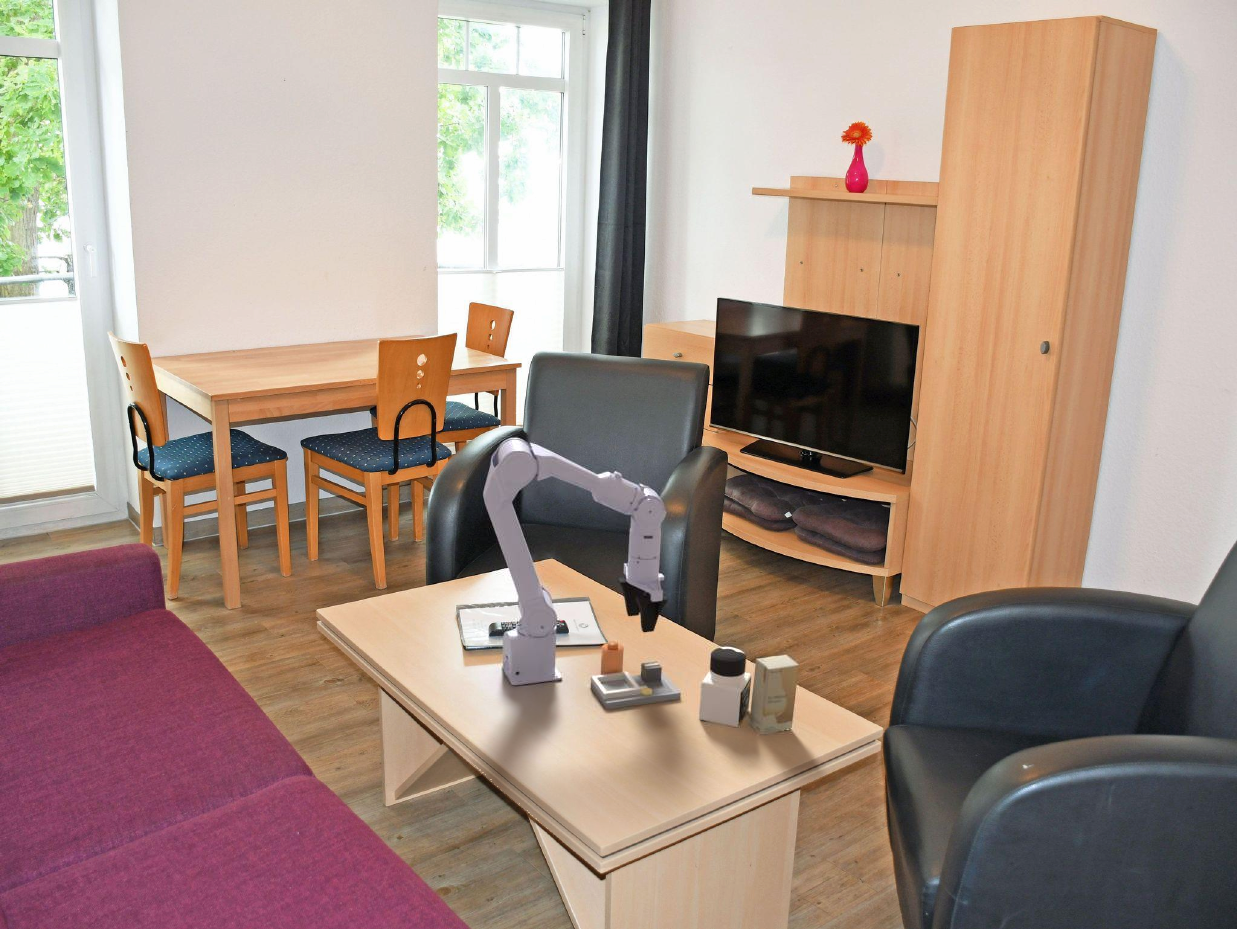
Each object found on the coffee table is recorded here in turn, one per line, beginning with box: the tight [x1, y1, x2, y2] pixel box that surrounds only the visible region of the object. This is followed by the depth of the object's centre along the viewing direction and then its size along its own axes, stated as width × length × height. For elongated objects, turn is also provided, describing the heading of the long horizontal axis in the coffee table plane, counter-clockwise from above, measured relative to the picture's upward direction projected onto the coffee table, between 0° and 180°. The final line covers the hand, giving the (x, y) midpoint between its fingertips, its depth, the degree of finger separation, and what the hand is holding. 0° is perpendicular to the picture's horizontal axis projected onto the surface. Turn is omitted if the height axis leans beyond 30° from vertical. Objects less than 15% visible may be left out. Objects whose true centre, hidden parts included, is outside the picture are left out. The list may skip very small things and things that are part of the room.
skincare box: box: [749, 654, 800, 735], centre depth 184 cm, size 6×4×12 cm
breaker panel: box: [590, 671, 681, 710], centre depth 195 cm, size 14×8×2 cm, turn 111°
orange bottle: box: [600, 641, 624, 675], centre depth 200 cm, size 4×4×7 cm
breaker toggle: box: [640, 661, 663, 682], centre depth 198 cm, size 3×2×3 cm
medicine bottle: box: [698, 646, 752, 728], centre depth 187 cm, size 7×7×12 cm
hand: (640, 623), depth 202 cm, fingers open, 7 cm apart
